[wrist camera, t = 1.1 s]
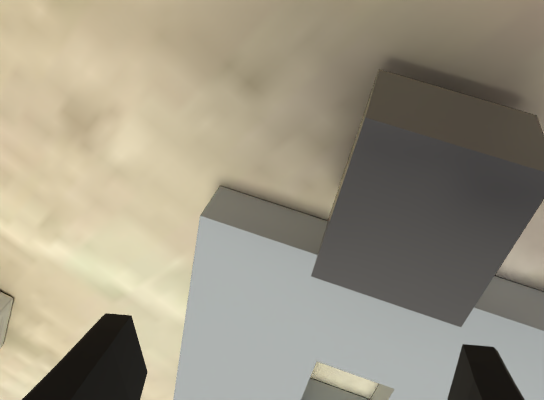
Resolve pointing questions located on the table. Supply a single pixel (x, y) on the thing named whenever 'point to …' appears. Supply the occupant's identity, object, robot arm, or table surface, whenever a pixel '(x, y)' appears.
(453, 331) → the socket
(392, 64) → the table surface
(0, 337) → the small box
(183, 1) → the table surface
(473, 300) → the plug
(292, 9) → the table surface
